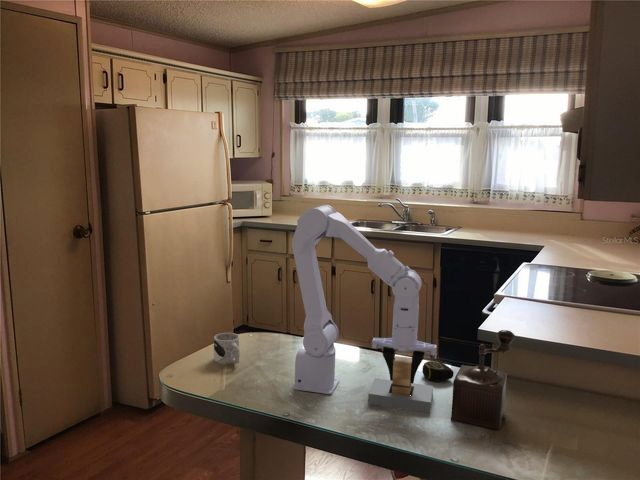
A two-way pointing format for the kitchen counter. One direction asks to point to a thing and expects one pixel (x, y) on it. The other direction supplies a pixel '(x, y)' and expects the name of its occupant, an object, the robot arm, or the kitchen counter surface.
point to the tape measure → (437, 371)
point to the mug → (226, 348)
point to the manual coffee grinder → (481, 390)
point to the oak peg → (402, 375)
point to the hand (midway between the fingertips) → (402, 380)
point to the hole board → (401, 396)
